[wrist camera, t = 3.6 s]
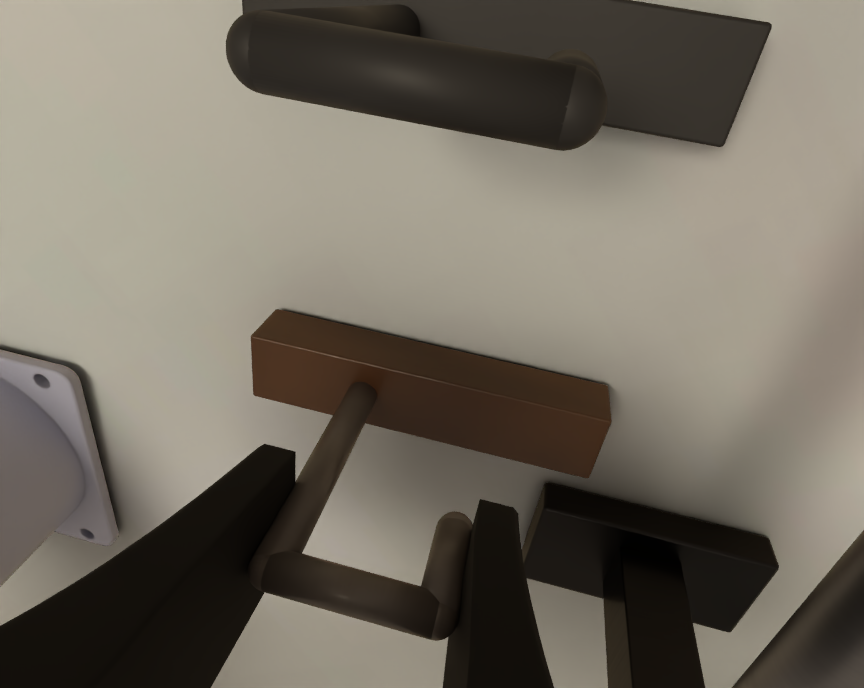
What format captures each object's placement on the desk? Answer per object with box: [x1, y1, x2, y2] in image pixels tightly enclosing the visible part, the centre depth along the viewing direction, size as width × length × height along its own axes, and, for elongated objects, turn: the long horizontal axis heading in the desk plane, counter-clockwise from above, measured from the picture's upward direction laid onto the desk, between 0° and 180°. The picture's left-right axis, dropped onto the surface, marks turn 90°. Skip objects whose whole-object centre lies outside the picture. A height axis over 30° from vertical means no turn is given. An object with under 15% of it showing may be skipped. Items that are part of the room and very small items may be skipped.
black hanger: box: [226, 0, 772, 151], centre depth 8 cm, size 8×2×7 cm, turn 82°
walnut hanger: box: [248, 309, 611, 641], centre depth 12 cm, size 8×2×7 cm, turn 82°
